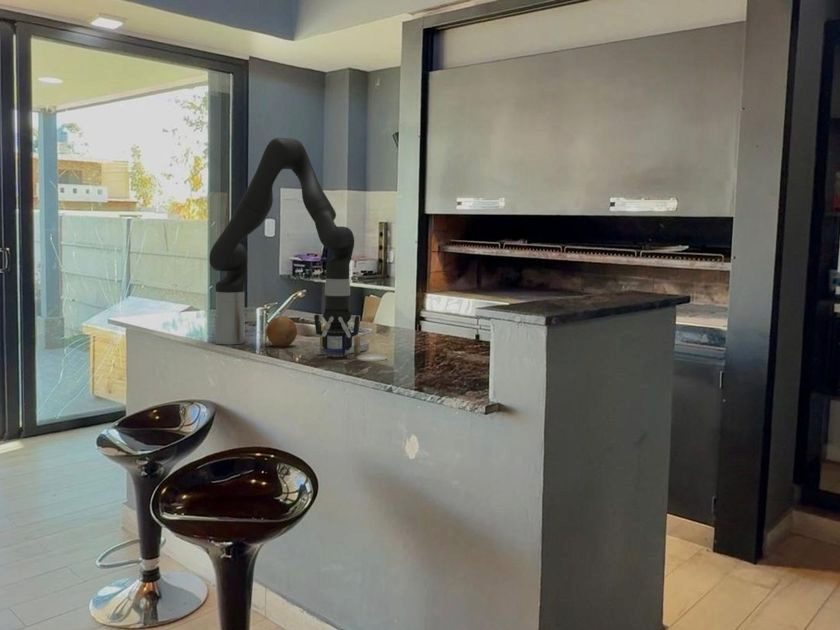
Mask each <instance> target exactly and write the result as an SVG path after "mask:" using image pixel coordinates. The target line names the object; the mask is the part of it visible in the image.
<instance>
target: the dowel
mask: <svg viewBox="0 0 840 630" xmlns="http://www.w3.org/2000/svg"><path fill="white" fill-rule="evenodd" d="M353 337H354V338H353V342H354V353H353V356H354V357H357V356H359V355H361V351H360V342H361V336H360V335H356V336H353Z"/></svg>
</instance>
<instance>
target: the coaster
mask: <svg viewBox="0 0 840 630" xmlns="http://www.w3.org/2000/svg"><path fill="white" fill-rule="evenodd" d="M387 358H388V356H387V355H383V354H376V353H375V354H374V353H371V354H370V353H369V354H368V353H367V354H360V355H359V356H356V360H358V361H362V362H363V361H364V362H381V361H382V362H383V361H387Z"/></svg>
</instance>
